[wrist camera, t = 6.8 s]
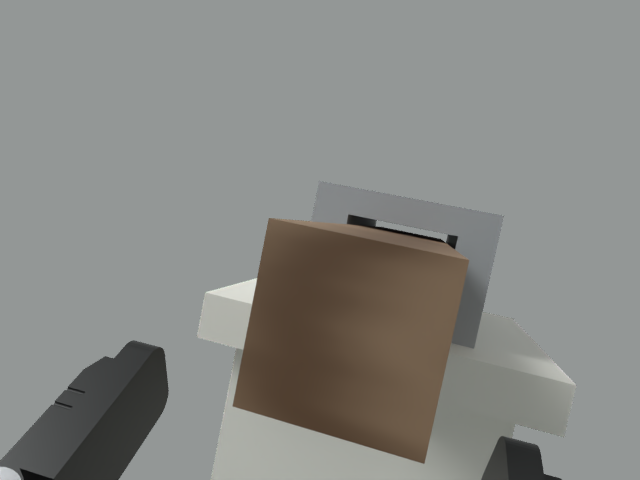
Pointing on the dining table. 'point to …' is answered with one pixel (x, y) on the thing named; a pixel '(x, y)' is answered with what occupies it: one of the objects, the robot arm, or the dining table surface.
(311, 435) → the cream pedestal
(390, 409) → the walnut block
